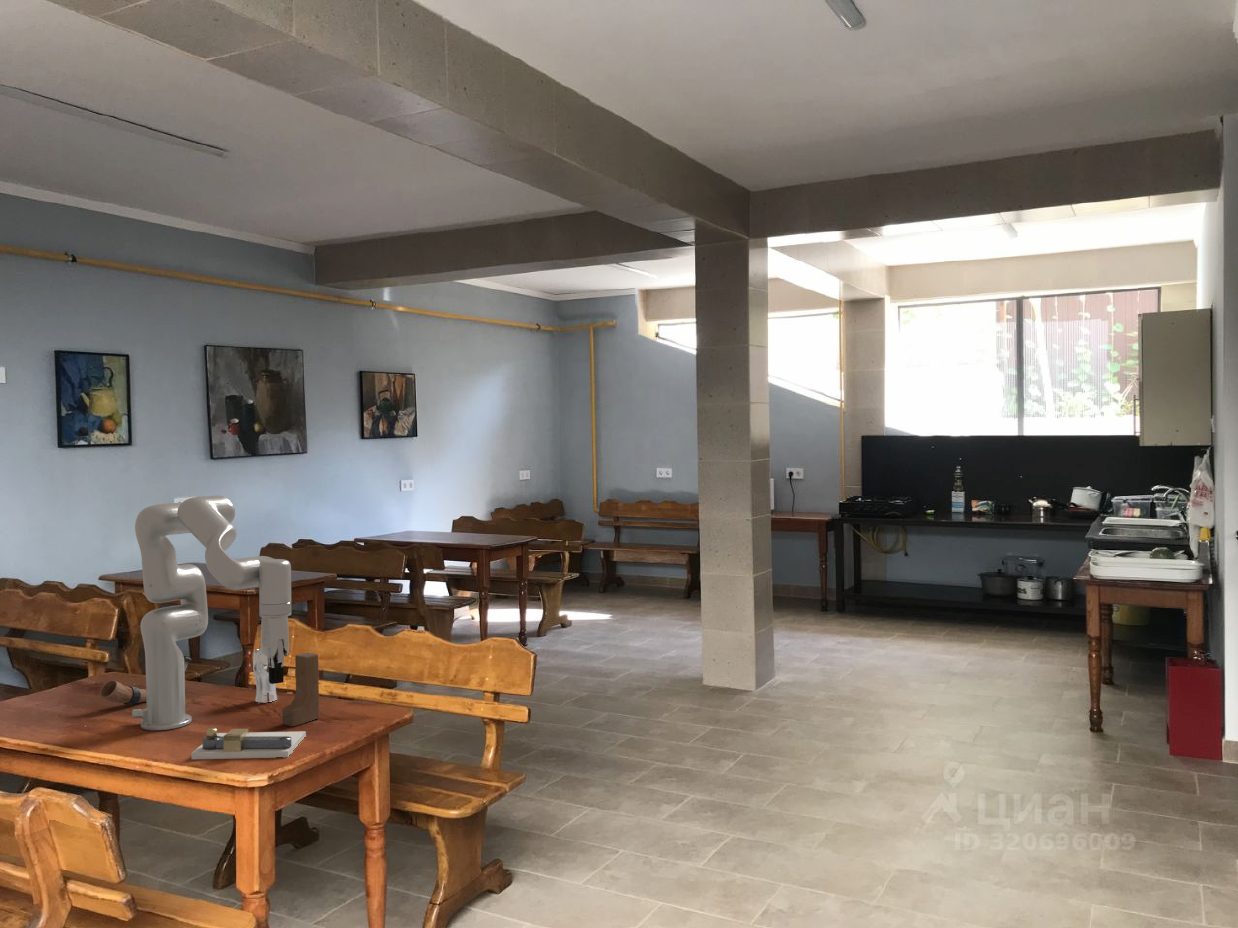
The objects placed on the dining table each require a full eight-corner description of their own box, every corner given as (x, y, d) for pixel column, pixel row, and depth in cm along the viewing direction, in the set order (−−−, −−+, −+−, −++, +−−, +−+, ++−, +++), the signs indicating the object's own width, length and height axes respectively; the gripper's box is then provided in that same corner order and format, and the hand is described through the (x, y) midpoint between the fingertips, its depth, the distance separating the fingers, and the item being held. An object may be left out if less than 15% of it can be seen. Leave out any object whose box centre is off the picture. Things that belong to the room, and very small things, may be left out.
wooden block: (292, 727, 265) (291, 660, 265) (281, 724, 268) (280, 658, 267) (319, 718, 273) (318, 653, 272) (309, 716, 275) (308, 652, 275)
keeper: (201, 752, 240) (201, 733, 240) (210, 744, 246) (210, 726, 246) (240, 751, 240) (240, 732, 240) (248, 743, 246) (248, 725, 246)
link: (199, 749, 241) (199, 741, 241) (207, 743, 246) (206, 735, 246) (288, 749, 241) (287, 740, 241) (294, 743, 246) (294, 735, 245)
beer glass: (264, 705, 287) (263, 653, 286) (248, 701, 290) (247, 651, 290) (283, 699, 293) (283, 649, 292) (268, 696, 296) (267, 646, 296)
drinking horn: (96, 712, 281) (96, 677, 280) (184, 687, 308) (183, 655, 307) (110, 714, 278) (109, 679, 278) (197, 689, 305) (196, 657, 305)
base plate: (191, 759, 239) (191, 753, 239) (215, 738, 255) (215, 732, 255) (288, 757, 241) (287, 751, 240) (305, 736, 256) (305, 731, 256)
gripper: (252, 606, 250) (253, 678, 251) (267, 615, 238) (267, 691, 239) (283, 603, 254) (284, 674, 255) (298, 612, 242) (299, 687, 243)
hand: (276, 682), depth 247 cm, fingers closed
